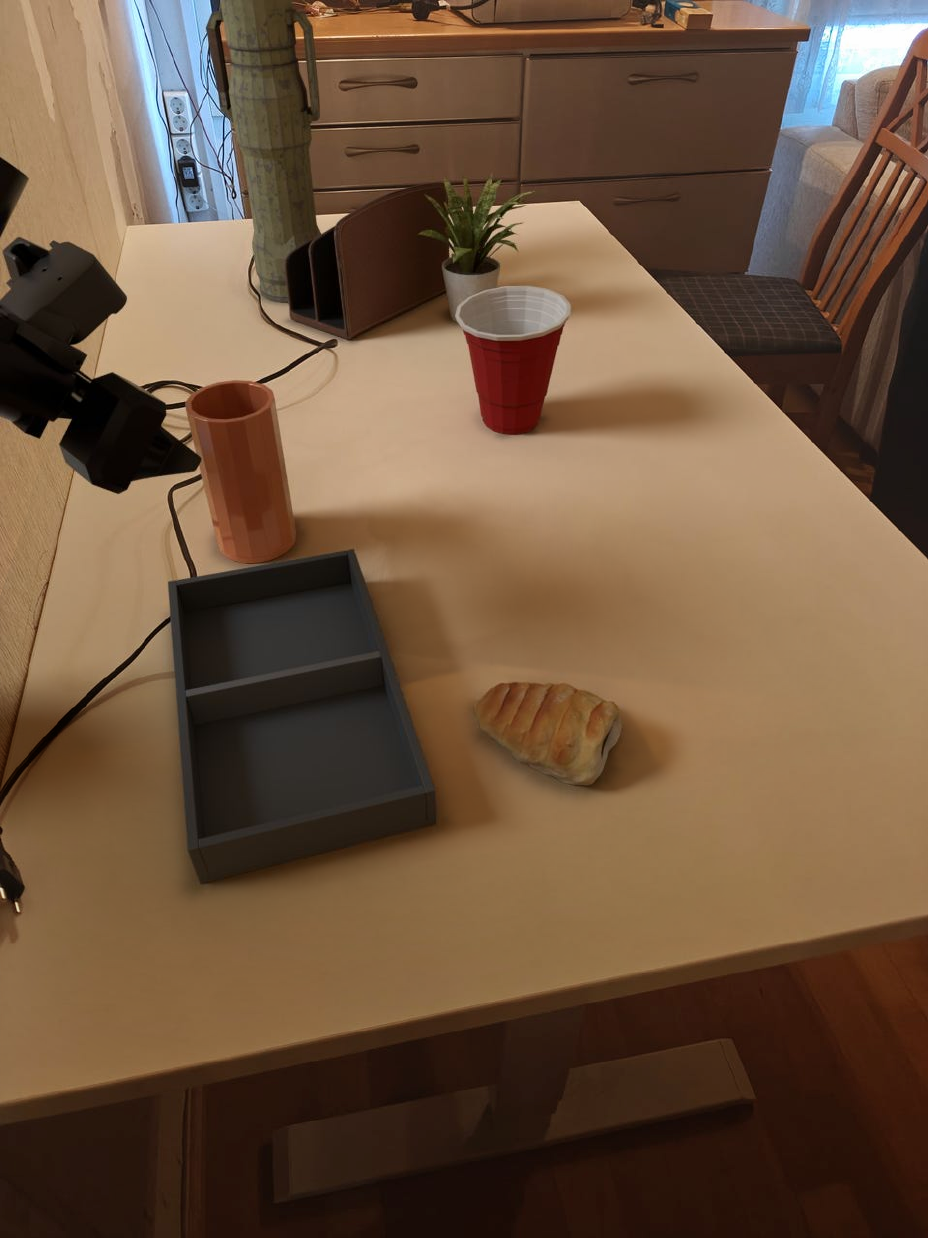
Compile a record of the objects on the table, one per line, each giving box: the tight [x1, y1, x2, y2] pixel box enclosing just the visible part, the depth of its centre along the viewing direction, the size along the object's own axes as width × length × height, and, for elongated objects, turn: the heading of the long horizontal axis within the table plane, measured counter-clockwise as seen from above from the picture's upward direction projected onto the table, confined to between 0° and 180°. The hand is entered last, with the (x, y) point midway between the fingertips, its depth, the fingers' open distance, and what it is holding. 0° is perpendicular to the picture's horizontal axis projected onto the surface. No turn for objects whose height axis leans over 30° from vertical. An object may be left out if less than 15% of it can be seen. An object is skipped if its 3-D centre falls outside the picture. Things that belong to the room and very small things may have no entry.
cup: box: [184, 379, 297, 564], centre depth 69 cm, size 6×6×13 cm
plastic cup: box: [455, 285, 572, 435], centre depth 85 cm, size 11×11×12 cm
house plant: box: [419, 171, 539, 323], centre depth 102 cm, size 14×14×16 cm
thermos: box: [205, 0, 322, 304], centre depth 103 cm, size 9×12×35 cm
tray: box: [167, 548, 438, 884], centre depth 58 cm, size 14×24×3 cm, turn 17°
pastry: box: [474, 681, 623, 786], centre depth 56 cm, size 9×7×4 cm
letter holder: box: [284, 181, 451, 341], centre depth 106 cm, size 10×20×14 cm, turn 143°
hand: (163, 439), depth 63 cm, fingers open, 9 cm apart
